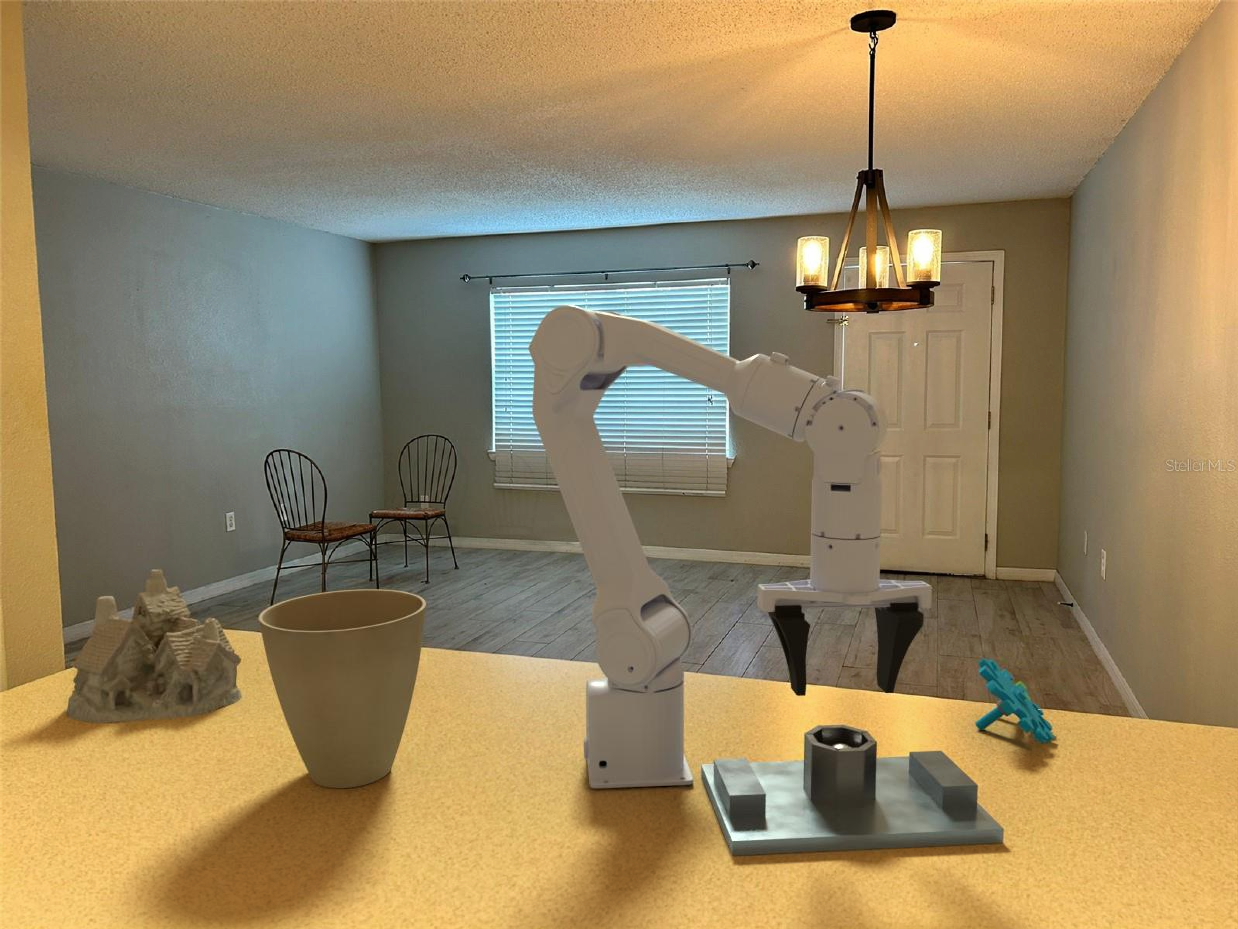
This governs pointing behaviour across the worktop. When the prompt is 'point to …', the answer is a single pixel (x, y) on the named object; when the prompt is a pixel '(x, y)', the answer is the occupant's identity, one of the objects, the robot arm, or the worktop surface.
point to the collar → (840, 766)
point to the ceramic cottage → (152, 662)
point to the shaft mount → (897, 818)
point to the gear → (1012, 702)
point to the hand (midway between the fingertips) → (841, 690)
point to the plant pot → (345, 677)
